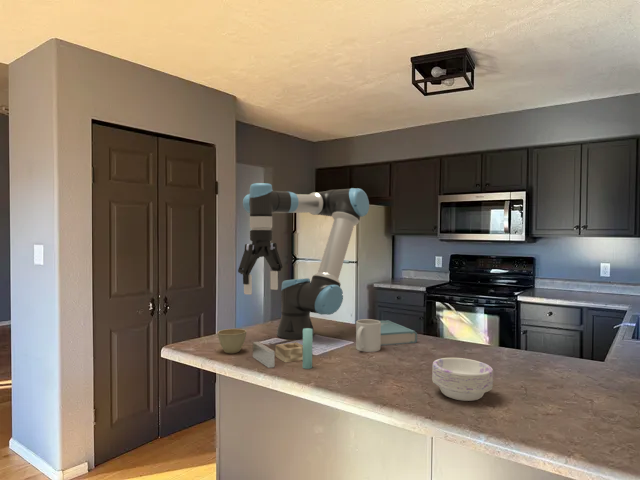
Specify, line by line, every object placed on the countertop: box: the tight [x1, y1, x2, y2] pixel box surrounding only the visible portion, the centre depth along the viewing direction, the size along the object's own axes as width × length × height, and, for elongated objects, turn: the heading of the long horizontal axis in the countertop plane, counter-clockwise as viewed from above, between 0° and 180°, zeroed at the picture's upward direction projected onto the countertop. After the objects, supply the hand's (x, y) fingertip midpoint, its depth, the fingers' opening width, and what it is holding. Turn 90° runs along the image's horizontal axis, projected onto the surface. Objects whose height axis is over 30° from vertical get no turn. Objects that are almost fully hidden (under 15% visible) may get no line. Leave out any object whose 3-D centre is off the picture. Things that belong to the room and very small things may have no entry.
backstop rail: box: [252, 341, 275, 369], centre depth 148 cm, size 2×14×5 cm, turn 29°
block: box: [274, 341, 303, 363], centre depth 153 cm, size 8×8×4 cm
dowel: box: [302, 328, 313, 370], centre depth 142 cm, size 3×3×12 cm
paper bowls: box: [431, 357, 494, 402], centre depth 119 cm, size 15×15×8 cm
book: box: [379, 319, 418, 346], centre depth 184 cm, size 23×16×5 cm
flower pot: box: [217, 328, 247, 354], centre depth 161 cm, size 10×10×7 cm
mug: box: [355, 318, 382, 353], centre depth 165 cm, size 11×10×10 cm
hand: (261, 291), depth 155 cm, fingers open, 13 cm apart
